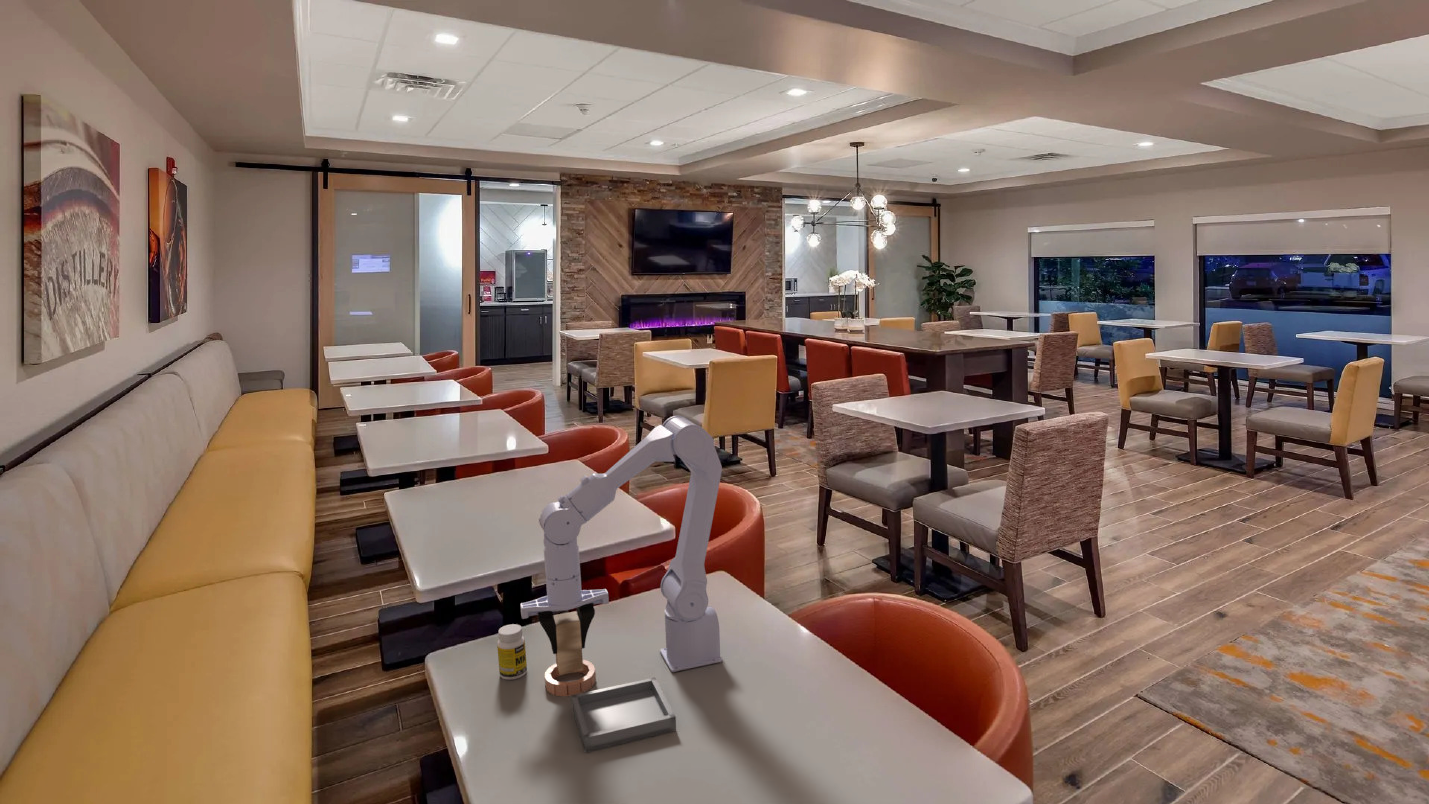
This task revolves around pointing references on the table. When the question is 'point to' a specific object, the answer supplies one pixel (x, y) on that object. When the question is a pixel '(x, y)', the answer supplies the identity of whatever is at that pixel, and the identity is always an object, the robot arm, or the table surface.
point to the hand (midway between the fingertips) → (568, 648)
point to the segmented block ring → (573, 686)
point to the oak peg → (568, 643)
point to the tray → (622, 714)
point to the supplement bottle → (511, 652)
